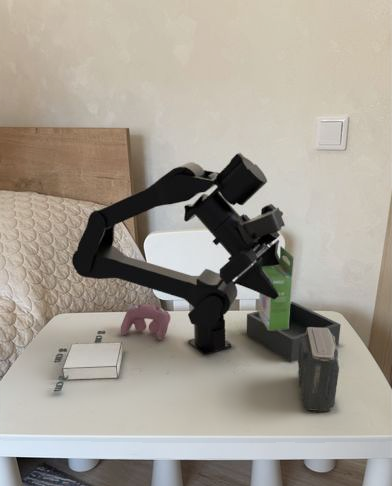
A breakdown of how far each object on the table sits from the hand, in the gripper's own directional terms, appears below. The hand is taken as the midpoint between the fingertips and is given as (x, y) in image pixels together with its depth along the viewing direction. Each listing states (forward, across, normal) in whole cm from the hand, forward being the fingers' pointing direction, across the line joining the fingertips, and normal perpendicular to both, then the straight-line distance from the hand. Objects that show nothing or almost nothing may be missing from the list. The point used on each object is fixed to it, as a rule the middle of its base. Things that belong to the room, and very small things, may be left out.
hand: (282, 289), depth 92 cm
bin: (+10, +8, +9) cm, 16 cm away
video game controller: (-10, +1, +30) cm, 32 cm away
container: (-13, -16, +32) cm, 38 cm away
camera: (+16, -11, +3) cm, 19 cm away
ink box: (+4, 0, +6) cm, 7 cm away
